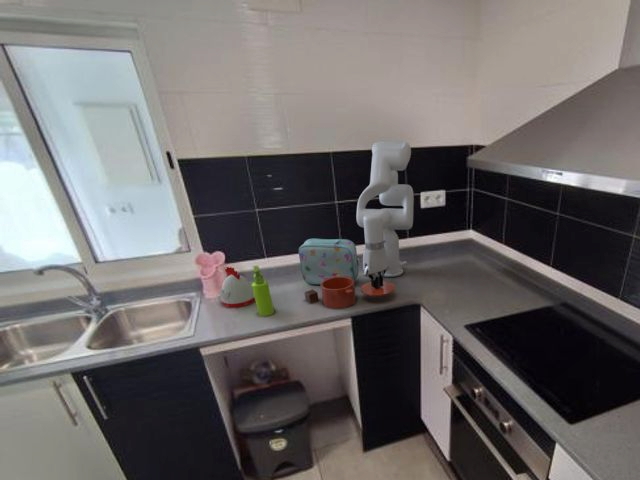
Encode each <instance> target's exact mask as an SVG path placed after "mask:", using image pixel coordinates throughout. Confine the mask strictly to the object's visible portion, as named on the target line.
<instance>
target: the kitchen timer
mask: <svg viewBox="0 0 640 480" xmlns="http://www.w3.org/2000/svg"><path fill="white" fill-rule="evenodd" d="M224 272H225V273H226V275H227V277H226V278H224V280H223V283H222V286H221V288H220V289H219V294H220V300H221V304H222V305H223V306H224V307H226V308H241V307H245V306H248V305H250V304H252V303H254V302H256V300H255V296H254V292H253V288H252V283H253V282H252V281H249V280H248V278H246V277H244V276H243V275H241V274H240V273H238V271H237V270H235V268H234V267H231V266H230V267H229V266H226V268H225V269H224Z"/></svg>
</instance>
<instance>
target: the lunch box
mask: <svg viewBox="0 0 640 480" xmlns="http://www.w3.org/2000/svg"><path fill="white" fill-rule="evenodd" d="M298 258H299V263H300V269H301V275H302V276H301V277H302V279H303V281H304V282H305V283H307V284H309V285H320V286H321V283H322V282H323V279H325V278H333V277H348V278H351V279H353V281H354V284H355V283H356V281H357V278H358V275H359V265H360V264H361V261H360V258H359V256H358V253H357V246H356V244H355V243H354V242H353V241H352V240H350V239H346V238H345V239H344V238H337V239H329V238H327V239H326V238H309V239H306V240H305V241H304V243H303V244H302V245H300V246H299V247H298Z"/></svg>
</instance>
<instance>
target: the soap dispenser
mask: <svg viewBox="0 0 640 480" xmlns="http://www.w3.org/2000/svg"><path fill="white" fill-rule="evenodd" d="M252 268H253V271H254V274H253V275H252V277H253V281H254V282H252V288H253V292H254V296H255V304H256V308H257V312H258V315H259V316H260V317H268V316H271V315H273V314H274V313H275V309H274V306H273V305H274V304H273V300H272V299H273V298H272V295H271V290H270V286H269V282H268V281H267V280H264V275H263V273H261V270H260V267H259V265H253V266H252Z"/></svg>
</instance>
